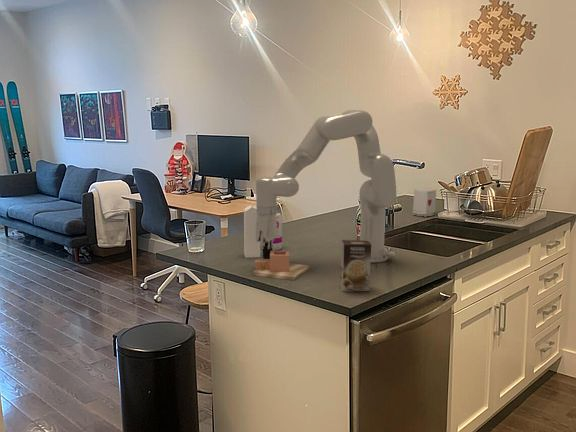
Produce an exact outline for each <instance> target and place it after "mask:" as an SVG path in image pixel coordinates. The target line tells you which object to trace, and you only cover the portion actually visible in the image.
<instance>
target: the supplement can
mask: <svg viewBox="0 0 576 432" xmlns="http://www.w3.org/2000/svg"><path fill="white" fill-rule="evenodd" d="M276 221H277V236H276V238H274V241H273V247H272V251H281V249H282V248H283V216H282V214H281V213H280V212H277V215H276Z"/></svg>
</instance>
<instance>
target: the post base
mask: <svg viewBox="0 0 576 432" xmlns="http://www.w3.org/2000/svg"><path fill="white" fill-rule="evenodd" d="M309 270H310V265H308V264H298V263H290V262H289V272H270V270H264V262H261V270H255V269H254V271H252V276H256V277H264V278H272V279H280V280H288V281H289V280H290V281H296V280H297V279H299V278H300V277H301V276H302V275H304V274H305V273H306V272H307V271H309Z"/></svg>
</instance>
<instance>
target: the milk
mask: <svg viewBox="0 0 576 432" xmlns="http://www.w3.org/2000/svg"><path fill="white" fill-rule="evenodd" d="M256 219H257V208H256V206H254V203H253V201H252V200H251V201H250V205H248V206H247V207H244V208H243V234H244V235H243V240H244V241H243V243H244V244H243V248H244V249H243V251H244V253H243V255H244V257H245V258H246V259H247V258H249V259H250V258H261V246H260V241H259V242H257V241H256Z"/></svg>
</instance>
